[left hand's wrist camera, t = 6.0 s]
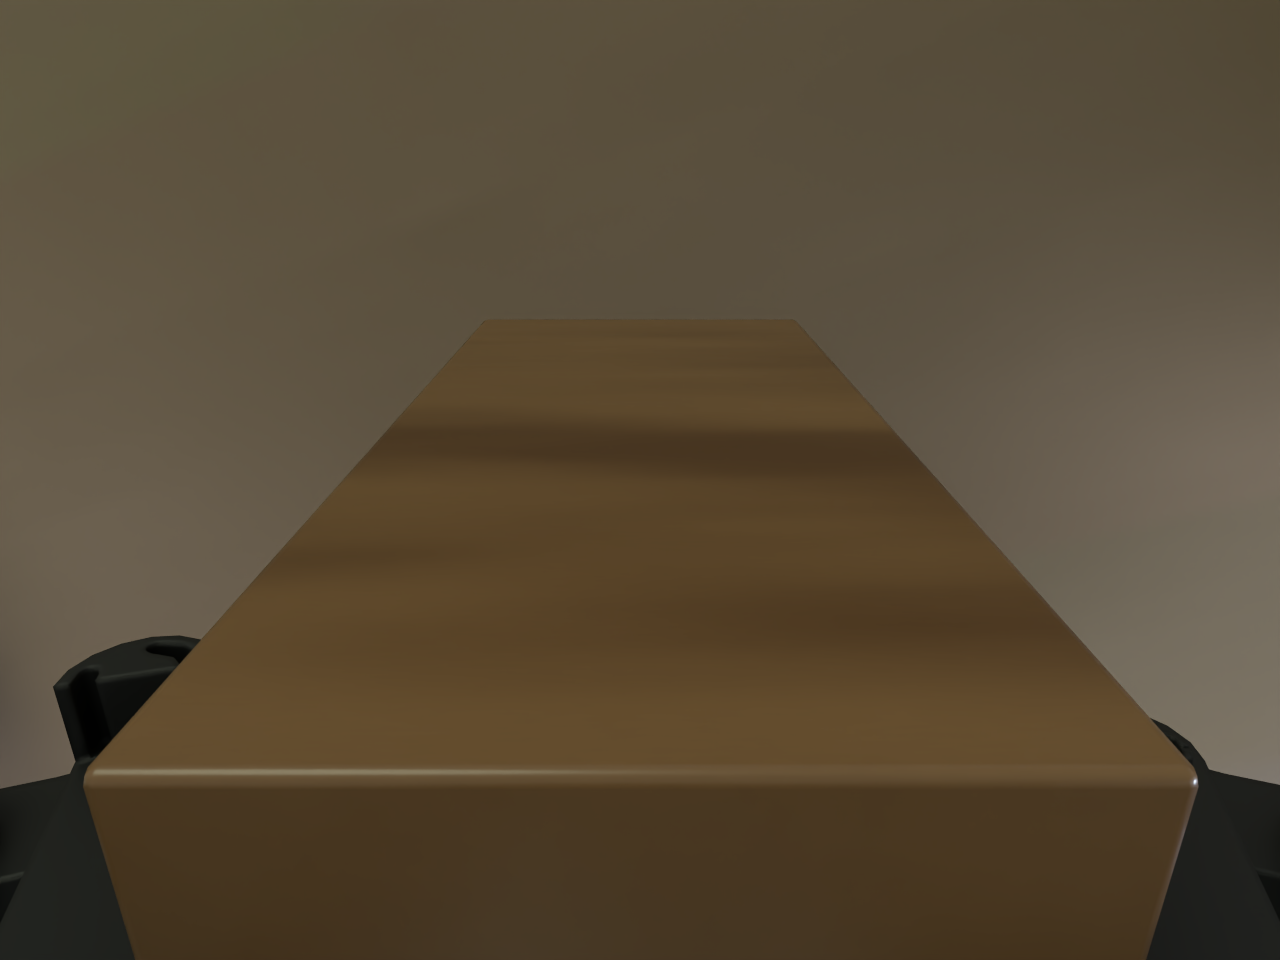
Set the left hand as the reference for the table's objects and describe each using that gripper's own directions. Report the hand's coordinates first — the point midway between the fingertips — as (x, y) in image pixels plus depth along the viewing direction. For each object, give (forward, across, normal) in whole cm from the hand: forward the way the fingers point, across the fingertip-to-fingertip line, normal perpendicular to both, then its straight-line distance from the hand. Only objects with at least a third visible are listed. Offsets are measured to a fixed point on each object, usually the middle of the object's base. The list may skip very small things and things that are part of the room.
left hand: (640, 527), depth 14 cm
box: (+3, 0, -8) cm, 8 cm away
